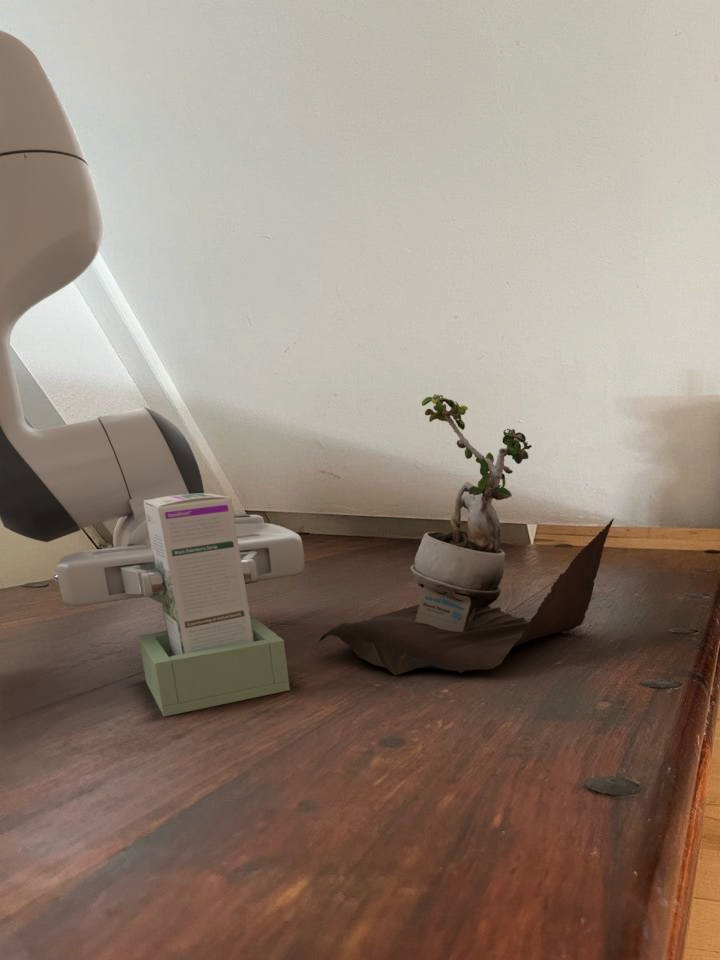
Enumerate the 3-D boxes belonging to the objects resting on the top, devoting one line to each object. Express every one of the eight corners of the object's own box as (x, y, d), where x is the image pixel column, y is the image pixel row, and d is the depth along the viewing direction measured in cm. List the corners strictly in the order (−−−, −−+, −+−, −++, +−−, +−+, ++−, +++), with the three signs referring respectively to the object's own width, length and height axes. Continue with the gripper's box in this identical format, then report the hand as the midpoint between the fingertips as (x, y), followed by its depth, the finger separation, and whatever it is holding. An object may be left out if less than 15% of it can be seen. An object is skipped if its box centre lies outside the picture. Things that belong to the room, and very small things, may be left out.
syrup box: (260, 671, 64) (236, 494, 60) (187, 687, 61) (156, 502, 57) (238, 655, 68) (214, 490, 64) (170, 670, 65) (140, 497, 61)
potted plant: (430, 631, 88) (488, 410, 81) (572, 696, 79) (650, 454, 72) (303, 647, 71) (363, 371, 65) (464, 732, 62) (553, 421, 56)
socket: (163, 716, 59) (154, 663, 57) (146, 683, 67) (138, 635, 66) (290, 690, 63) (284, 640, 62) (259, 661, 71) (253, 616, 70)
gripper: (44, 536, 68) (48, 556, 56) (274, 512, 77) (319, 525, 66) (58, 606, 69) (65, 639, 58) (282, 574, 79) (327, 597, 67)
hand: (203, 578), depth 62 cm, fingers closed on syrup box, 6 cm apart
